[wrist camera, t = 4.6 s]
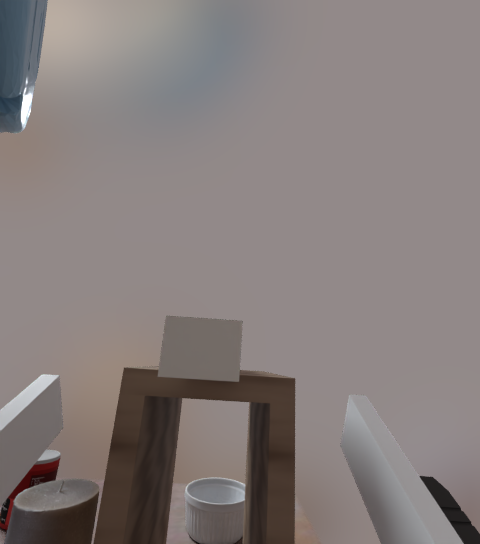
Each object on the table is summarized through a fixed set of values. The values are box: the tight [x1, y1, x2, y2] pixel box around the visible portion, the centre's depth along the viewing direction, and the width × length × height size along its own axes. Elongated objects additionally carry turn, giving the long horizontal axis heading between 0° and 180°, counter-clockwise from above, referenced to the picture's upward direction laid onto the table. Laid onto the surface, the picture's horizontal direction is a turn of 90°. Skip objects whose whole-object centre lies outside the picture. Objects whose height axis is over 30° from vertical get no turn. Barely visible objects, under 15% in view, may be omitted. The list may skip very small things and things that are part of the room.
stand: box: [94, 366, 295, 544], centre depth 30 cm, size 22×14×30 cm, turn 2°
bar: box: [158, 316, 243, 382], centre depth 28 cm, size 28×4×3 cm, turn 2°
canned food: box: [0, 450, 61, 530], centre depth 57 cm, size 8×8×11 cm
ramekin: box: [185, 478, 245, 544], centre depth 57 cm, size 13×13×7 cm
